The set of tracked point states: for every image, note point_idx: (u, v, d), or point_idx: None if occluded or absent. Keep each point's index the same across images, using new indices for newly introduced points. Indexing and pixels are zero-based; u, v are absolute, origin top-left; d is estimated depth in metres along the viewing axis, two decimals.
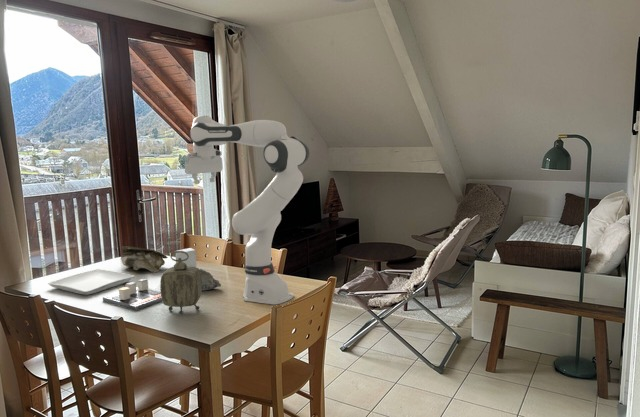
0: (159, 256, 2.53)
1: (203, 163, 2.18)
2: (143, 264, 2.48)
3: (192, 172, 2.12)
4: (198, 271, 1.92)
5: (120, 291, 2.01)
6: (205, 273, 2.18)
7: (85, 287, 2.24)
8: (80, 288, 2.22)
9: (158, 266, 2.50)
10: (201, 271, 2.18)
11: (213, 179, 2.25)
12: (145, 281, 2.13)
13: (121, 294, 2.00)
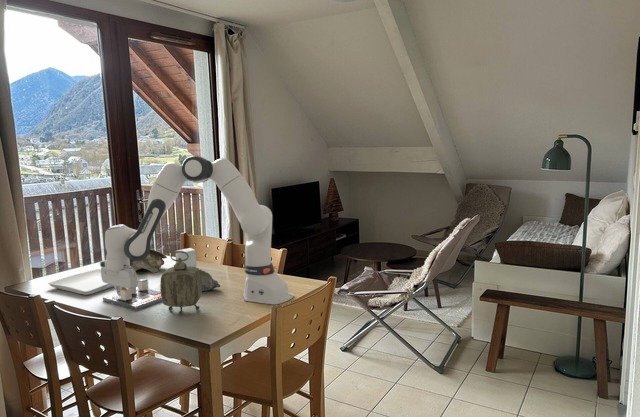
0: (159, 256, 2.53)
1: None
2: (143, 264, 2.47)
3: None
4: (198, 271, 1.92)
5: (122, 291, 2.00)
6: (204, 273, 2.18)
7: (85, 287, 2.24)
8: (80, 288, 2.22)
9: (158, 266, 2.50)
10: (200, 271, 2.17)
11: None
12: (145, 281, 2.13)
13: (123, 294, 2.00)
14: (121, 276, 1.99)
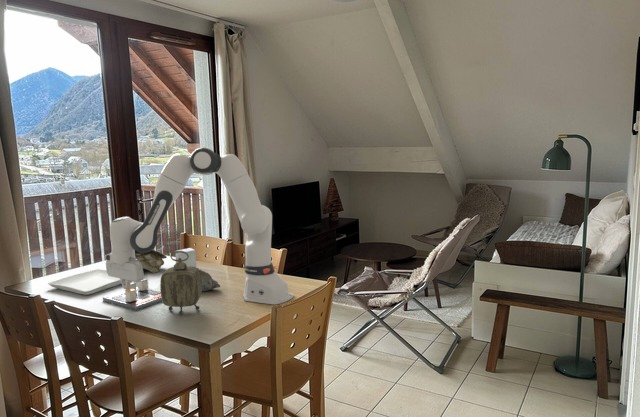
0: (159, 256, 2.53)
1: None
2: (143, 264, 2.47)
3: None
4: (198, 271, 1.92)
5: (126, 293, 1.98)
6: (204, 274, 2.17)
7: (85, 287, 2.24)
8: (80, 288, 2.22)
9: (158, 266, 2.50)
10: (200, 271, 2.17)
11: None
12: (145, 281, 2.13)
13: (127, 296, 1.98)
14: (127, 269, 1.96)
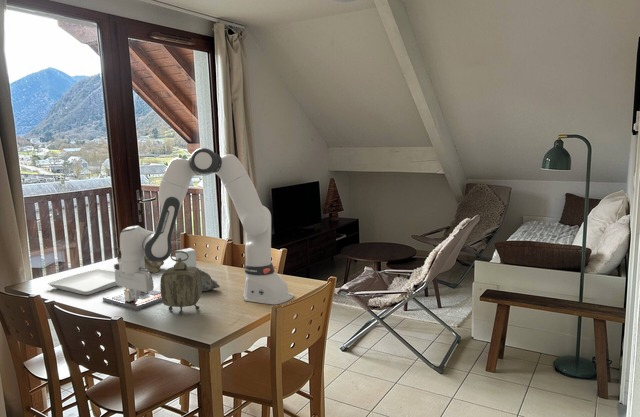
0: None
1: None
2: None
3: None
4: (198, 271, 1.92)
5: (125, 292, 1.99)
6: (204, 274, 2.17)
7: (85, 287, 2.24)
8: (80, 288, 2.22)
9: (158, 266, 2.50)
10: (200, 272, 2.17)
11: None
12: None
13: (126, 295, 1.99)
14: (136, 279, 1.93)
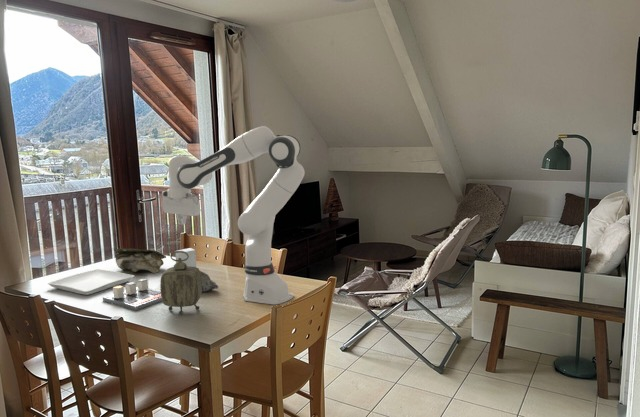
0: (158, 256, 2.52)
1: None
2: (144, 265, 2.46)
3: None
4: (198, 271, 1.92)
5: (114, 289, 2.03)
6: (203, 274, 2.16)
7: (85, 287, 2.24)
8: (80, 288, 2.22)
9: (159, 266, 2.50)
10: None
11: None
12: (145, 281, 2.13)
13: (115, 292, 2.03)
14: (184, 204, 2.06)
